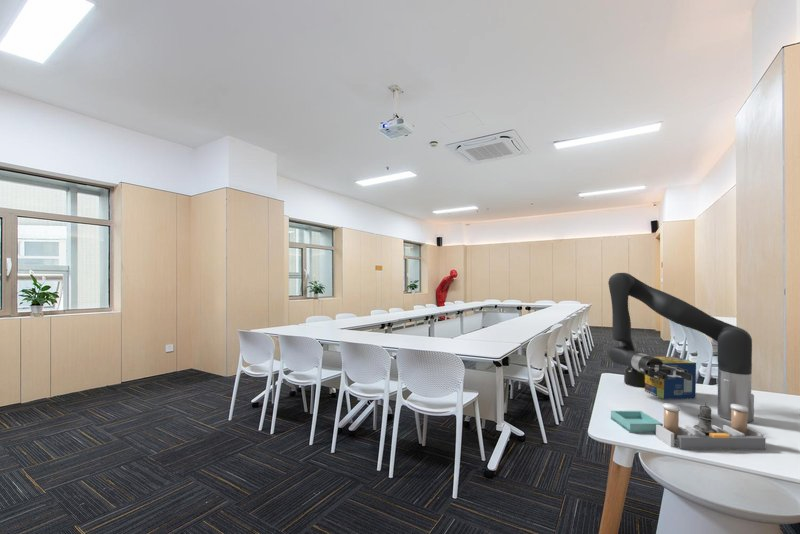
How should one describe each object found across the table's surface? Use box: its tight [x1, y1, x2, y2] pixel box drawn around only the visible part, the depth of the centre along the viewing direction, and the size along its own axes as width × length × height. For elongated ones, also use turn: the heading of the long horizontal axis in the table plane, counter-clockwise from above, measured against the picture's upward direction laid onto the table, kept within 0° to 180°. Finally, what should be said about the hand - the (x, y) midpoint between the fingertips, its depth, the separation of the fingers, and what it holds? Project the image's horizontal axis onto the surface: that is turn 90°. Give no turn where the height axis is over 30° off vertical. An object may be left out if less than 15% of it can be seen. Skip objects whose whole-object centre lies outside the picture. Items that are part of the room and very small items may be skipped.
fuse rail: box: [654, 424, 766, 451], centre depth 118 cm, size 29×12×4 cm, turn 90°
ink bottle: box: [623, 366, 645, 388], centre depth 174 cm, size 10×9×12 cm
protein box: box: [644, 356, 697, 400], centre depth 160 cm, size 10×15×16 cm
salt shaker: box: [692, 402, 717, 436], centre depth 118 cm, size 6×6×12 cm
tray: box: [610, 410, 664, 434], centre depth 128 cm, size 11×11×3 cm
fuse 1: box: [662, 402, 681, 444], centre depth 118 cm, size 4×4×11 cm
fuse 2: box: [730, 404, 748, 436], centre depth 118 cm, size 4×4×11 cm
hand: (678, 377), depth 129 cm, fingers open, 8 cm apart
